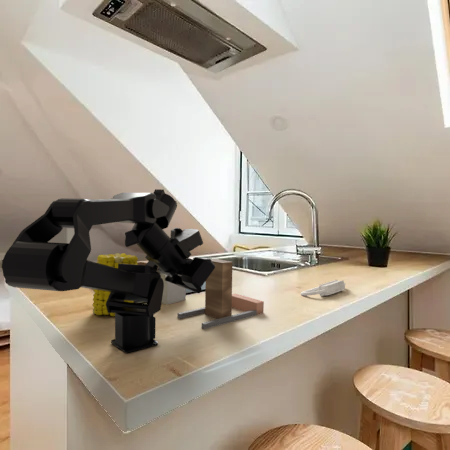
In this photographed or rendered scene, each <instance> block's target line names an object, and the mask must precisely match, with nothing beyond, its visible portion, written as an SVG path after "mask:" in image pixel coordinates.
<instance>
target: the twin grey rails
mask: <svg viewBox="0 0 450 450" xmlns="http://www.w3.org/2000/svg"><path fill="white" fill-rule="evenodd" d="M264 304H265V303H264V301H263V300H259V299H256V298H252V297H249V296H245V295H242V294H239V293H232V308H233V309H236V310H240V311H243V312H239V313H236V314H232V315H231V316H227V317H223V318H219V319H217V318H215V319H212V320H207V321H204V322H201V328H202V329H203V330H206V329H211V328H213V327H218V326H222V325H225V324H228V323H233V322H236V321H240V320H243V319H247V318H251V317H255V316H258V315H263V314H264V307H265V306H264ZM202 314H205V306H203V307H198V308H195V309H190V310H185V311H181V312H177V318H178V319H180V320H181V319H185V318H189V317H194V316H197V315H202Z"/></svg>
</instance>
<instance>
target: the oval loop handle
mask: <svg viewBox="0 0 450 450" xmlns="http://www.w3.org/2000/svg"><path fill="white" fill-rule="evenodd" d="M344 290H346V282H345V281H344V280H338V279H334V280H331V281H327V282H324V283H321V284H319V285H318V286H316V287H312V288H310V289H309V288H308V289H306V290H303V291H301V292H300V295H301V296H304V297H306V296H313V295H314V296H315V295H319V296H320V297H324V296H331V295H333V294H336V293H339V292H341V291H344Z"/></svg>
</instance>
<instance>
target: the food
mask: <svg viewBox="0 0 450 450" xmlns="http://www.w3.org/2000/svg"><path fill="white" fill-rule="evenodd" d="M96 258H97V261H96V263H99V264H103V265H106V266H110V267H114V268H117V269H118V264H133V265H139V264H138V260H139V258H138V256H136V255H135V254H133V255H131V254H127V253H125V252H124V253H119V252H116V253H114V254H112V253H110V254H109V253H108V254H99V255H98V256H97V257H96ZM93 292H94V294H93V298H92V301H93V304H92V307H93V308H92V314H94V315H96V316H102V315H105V316H106V315H107V316H109V315H110V317H115V313H108V311H107V307H106V302H107V300H108V297H109V295H110V293H111V292H109V291H102V290H96V289H93ZM124 302H132V303H135V301H129V300H124Z"/></svg>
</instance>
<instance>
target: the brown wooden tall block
mask: <svg viewBox="0 0 450 450" xmlns="http://www.w3.org/2000/svg"><path fill="white" fill-rule="evenodd" d="M210 259H211V260H212V262H213V263H214V264H215V269H214V270H213V271H212V273H211V274H210V276H209V277H208V278H207V280H206V281H205V290H204V291H205V292H204V293H205V302H204V304H205V305H204V307H205V313H204V315H206V316H209V317H211V318H215V319H219V318H223V317H227V316H231V315H233V314H232V313H233V311H232V309H233V307H232V294H233V261H231V260H230V261H229V260H225V259H220V258H219V259H218V258H210Z"/></svg>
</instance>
